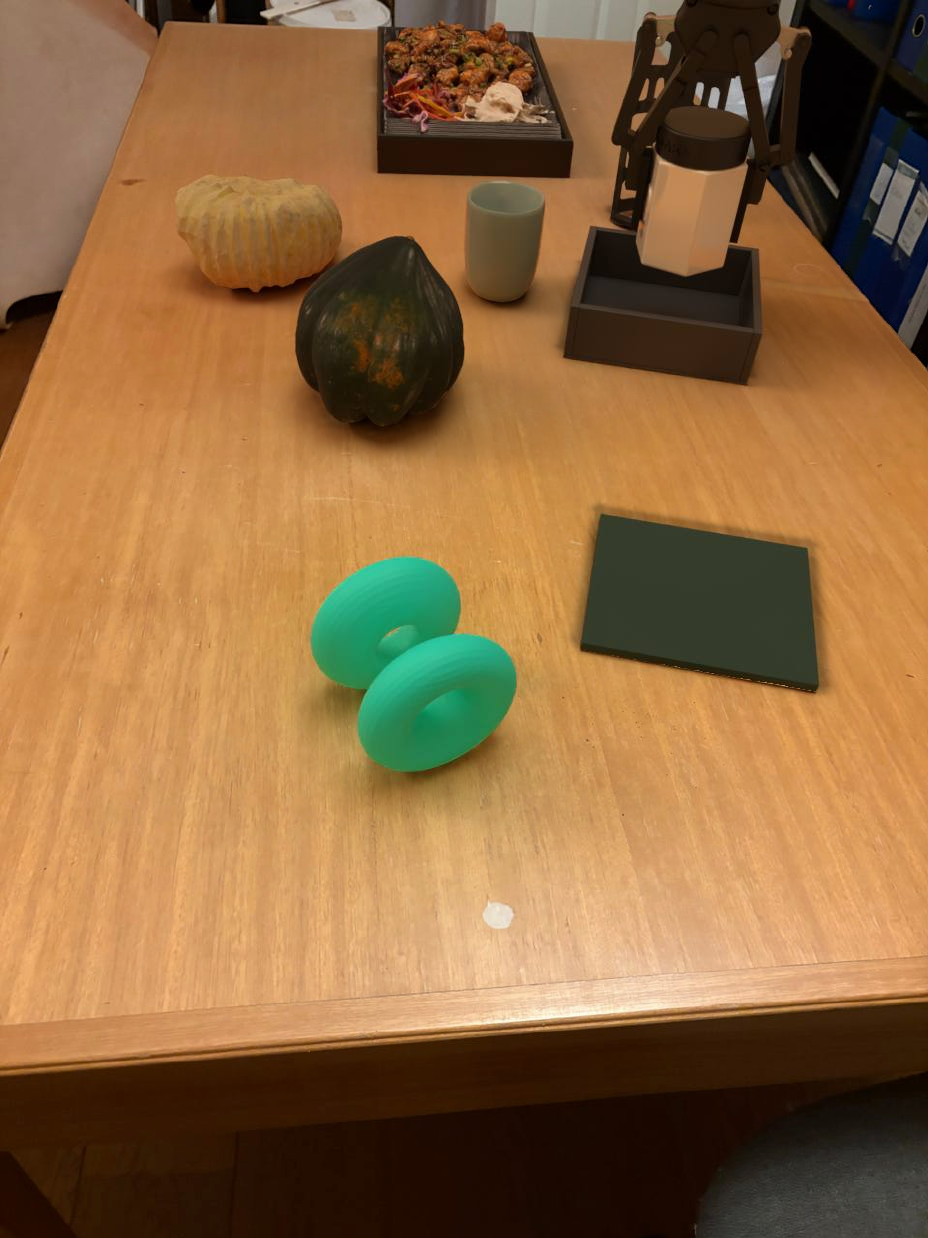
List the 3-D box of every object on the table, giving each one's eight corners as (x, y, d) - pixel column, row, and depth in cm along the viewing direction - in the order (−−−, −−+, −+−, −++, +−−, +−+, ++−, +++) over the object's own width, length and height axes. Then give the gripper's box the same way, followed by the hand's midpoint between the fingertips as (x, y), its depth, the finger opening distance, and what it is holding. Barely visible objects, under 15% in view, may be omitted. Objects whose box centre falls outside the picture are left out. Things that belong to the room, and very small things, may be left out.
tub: (745, 296, 100) (759, 248, 96) (746, 385, 88) (763, 333, 84) (582, 274, 102) (590, 225, 98) (563, 357, 90) (570, 305, 86)
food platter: (569, 177, 119) (580, 89, 112) (377, 172, 118) (375, 82, 110) (530, 63, 150) (537, -12, 142) (377, 57, 148) (376, -19, 140)
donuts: (444, 636, 64) (450, 527, 57) (517, 742, 58) (534, 636, 51) (309, 685, 61) (296, 576, 53) (372, 804, 55) (368, 699, 48)
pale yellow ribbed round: (357, 309, 99) (324, 218, 106) (359, 220, 90) (323, 127, 97) (195, 328, 95) (172, 232, 101) (181, 237, 85) (156, 138, 92)
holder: (609, 231, 109) (642, 31, 95) (604, 210, 114) (635, 19, 101) (703, 238, 109) (749, 40, 96) (693, 217, 114) (735, 28, 101)
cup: (453, 304, 96) (458, 206, 88) (471, 270, 101) (476, 175, 94) (527, 316, 95) (538, 218, 87) (541, 281, 100) (552, 186, 93)
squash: (241, 375, 75) (358, 252, 67) (291, 293, 86) (398, 178, 77) (371, 486, 81) (494, 386, 73) (403, 397, 92) (513, 301, 83)
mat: (804, 555, 72) (807, 547, 71) (815, 693, 62) (819, 685, 62) (599, 520, 74) (600, 513, 73) (579, 650, 64) (581, 642, 63)
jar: (630, 233, 92) (652, 101, 84) (711, 236, 93) (742, 105, 84) (641, 276, 86) (666, 138, 77) (728, 279, 86) (763, 143, 78)
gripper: (602, -64, 70) (566, 233, 86) (894, -39, 67) (800, 262, 84) (610, -84, 75) (575, 201, 91) (883, -61, 73) (796, 227, 89)
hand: (683, 230), depth 88 cm, fingers closed on jar, 8 cm apart
